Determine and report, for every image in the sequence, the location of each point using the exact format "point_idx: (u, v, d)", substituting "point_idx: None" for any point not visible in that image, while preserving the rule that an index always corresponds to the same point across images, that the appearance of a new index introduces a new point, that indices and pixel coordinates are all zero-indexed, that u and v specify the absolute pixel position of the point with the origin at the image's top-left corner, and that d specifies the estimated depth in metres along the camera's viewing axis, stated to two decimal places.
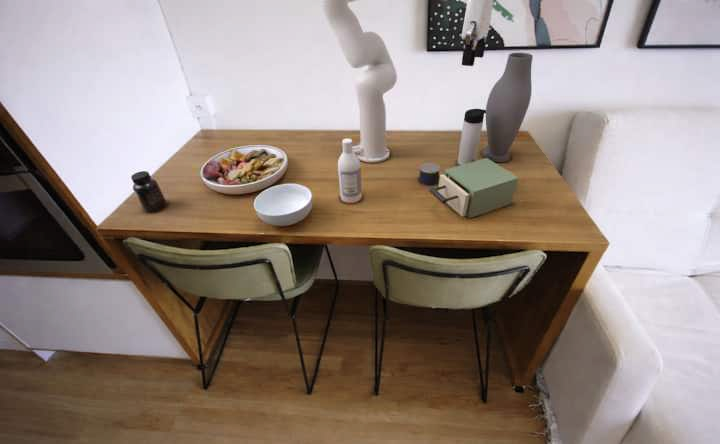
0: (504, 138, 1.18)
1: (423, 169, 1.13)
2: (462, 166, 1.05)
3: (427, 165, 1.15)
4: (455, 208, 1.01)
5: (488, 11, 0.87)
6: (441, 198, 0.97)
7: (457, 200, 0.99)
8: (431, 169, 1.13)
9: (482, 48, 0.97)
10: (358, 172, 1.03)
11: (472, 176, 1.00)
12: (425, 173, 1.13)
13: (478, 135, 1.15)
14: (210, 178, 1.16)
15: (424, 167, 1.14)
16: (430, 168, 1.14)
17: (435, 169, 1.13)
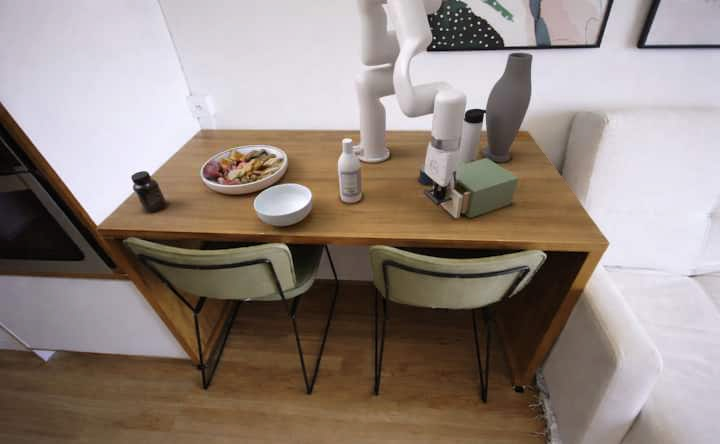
0: (504, 138, 1.18)
1: (423, 169, 1.13)
2: (462, 166, 1.05)
3: None
4: (449, 210, 1.01)
5: None
6: (435, 200, 0.96)
7: (451, 202, 0.98)
8: None
9: None
10: (358, 172, 1.03)
11: (472, 176, 1.00)
12: (425, 173, 1.13)
13: (478, 135, 1.15)
14: (210, 178, 1.16)
15: (424, 167, 1.14)
16: None
17: None
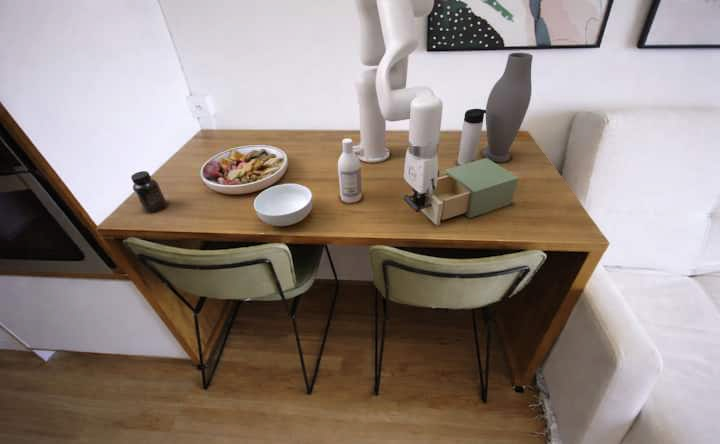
0: (504, 138, 1.18)
1: None
2: (462, 166, 1.05)
3: None
4: (429, 216, 0.99)
5: None
6: (414, 206, 0.95)
7: (431, 208, 0.96)
8: None
9: None
10: (358, 172, 1.03)
11: (472, 176, 1.00)
12: None
13: (478, 135, 1.15)
14: (210, 178, 1.16)
15: None
16: None
17: None
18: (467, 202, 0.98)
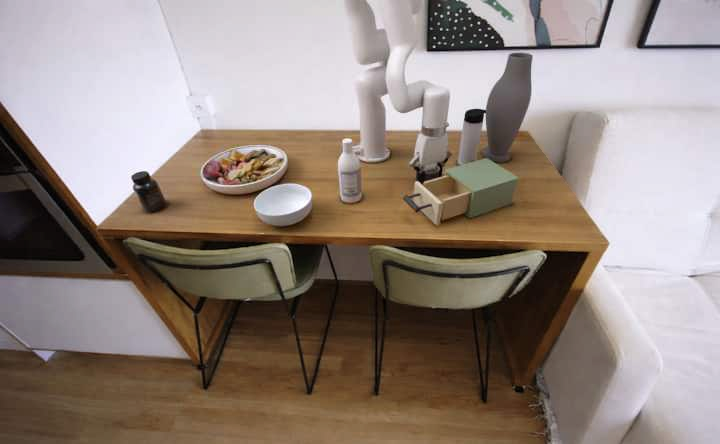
0: (504, 138, 1.18)
1: None
2: (462, 166, 1.05)
3: (427, 165, 1.15)
4: (429, 216, 0.99)
5: (433, 147, 1.07)
6: (414, 206, 0.95)
7: (431, 208, 0.96)
8: (431, 169, 1.13)
9: (439, 171, 1.15)
10: (358, 172, 1.03)
11: (472, 176, 1.00)
12: (425, 173, 1.13)
13: (478, 135, 1.15)
14: (210, 178, 1.16)
15: None
16: (430, 168, 1.14)
17: (435, 169, 1.13)
18: (467, 202, 0.98)
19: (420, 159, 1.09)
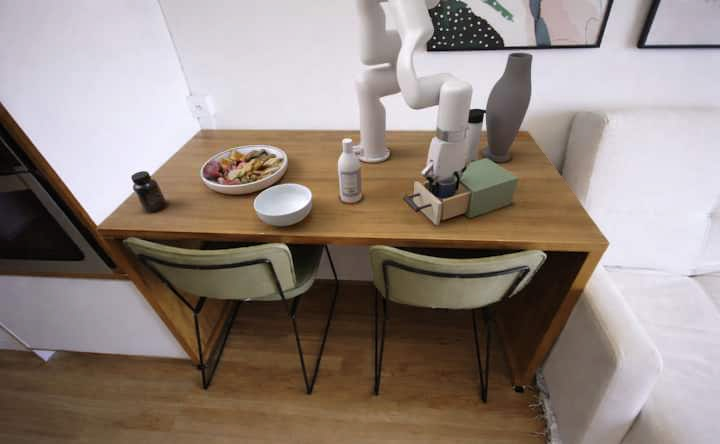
0: (504, 138, 1.18)
1: None
2: None
3: (442, 175, 0.97)
4: (429, 216, 0.99)
5: (450, 154, 0.89)
6: (414, 206, 0.94)
7: (431, 208, 0.96)
8: (447, 180, 0.95)
9: (456, 182, 0.98)
10: (358, 172, 1.03)
11: (472, 176, 1.00)
12: (439, 184, 0.95)
13: (478, 135, 1.15)
14: (210, 178, 1.16)
15: None
16: (445, 178, 0.96)
17: (451, 179, 0.95)
18: (467, 203, 0.98)
19: (434, 168, 0.91)
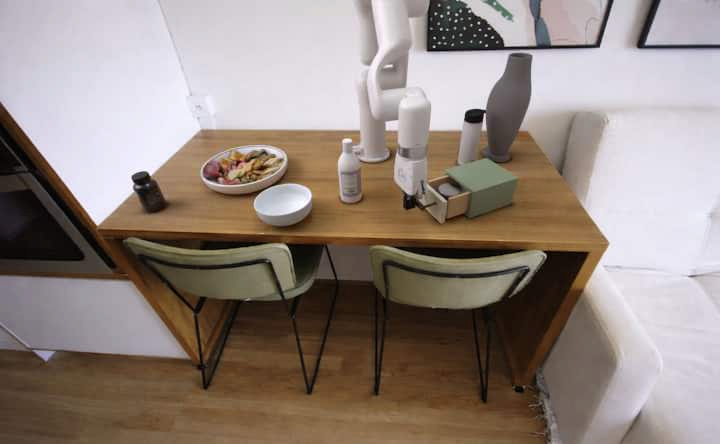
0: (504, 138, 1.18)
1: (442, 191, 0.99)
2: (462, 166, 1.05)
3: (446, 186, 1.01)
4: (434, 215, 0.99)
5: None
6: (419, 205, 0.95)
7: (436, 207, 0.97)
8: (451, 191, 0.99)
9: None
10: (358, 172, 1.03)
11: (472, 176, 1.00)
12: (444, 195, 0.98)
13: (478, 135, 1.15)
14: (210, 178, 1.16)
15: (443, 188, 1.00)
16: (450, 190, 0.99)
17: (456, 191, 0.99)
18: None
19: (425, 185, 0.88)
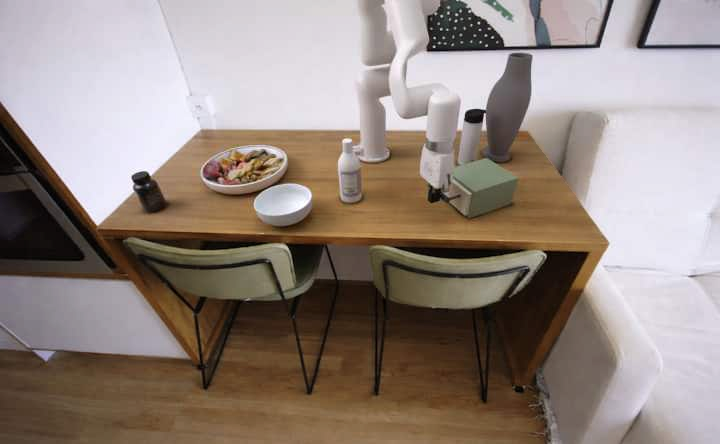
0: (504, 138, 1.18)
1: None
2: (462, 166, 1.05)
3: None
4: (458, 207, 1.01)
5: None
6: (444, 197, 0.97)
7: (460, 199, 0.99)
8: None
9: None
10: (358, 172, 1.03)
11: (472, 176, 1.00)
12: None
13: (478, 135, 1.15)
14: (210, 178, 1.16)
15: None
16: None
17: None
18: None
19: (451, 178, 0.90)
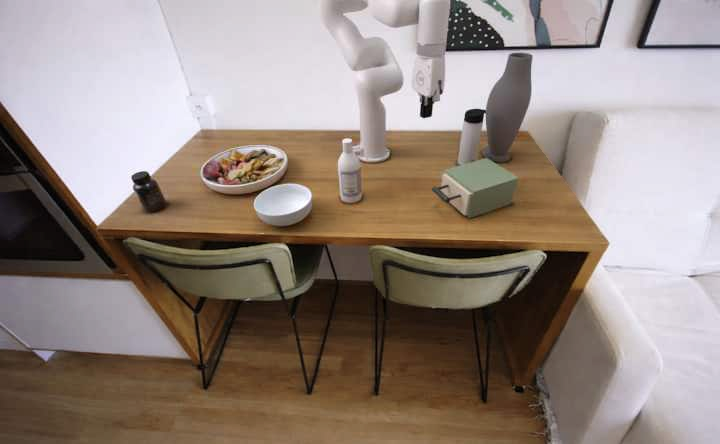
0: (504, 138, 1.18)
1: None
2: (462, 166, 1.05)
3: None
4: (458, 207, 1.01)
5: None
6: (444, 197, 0.97)
7: (460, 199, 0.99)
8: None
9: None
10: (358, 172, 1.03)
11: (472, 176, 1.00)
12: None
13: (478, 135, 1.15)
14: (210, 178, 1.16)
15: None
16: None
17: None
18: None
19: (443, 86, 0.93)
